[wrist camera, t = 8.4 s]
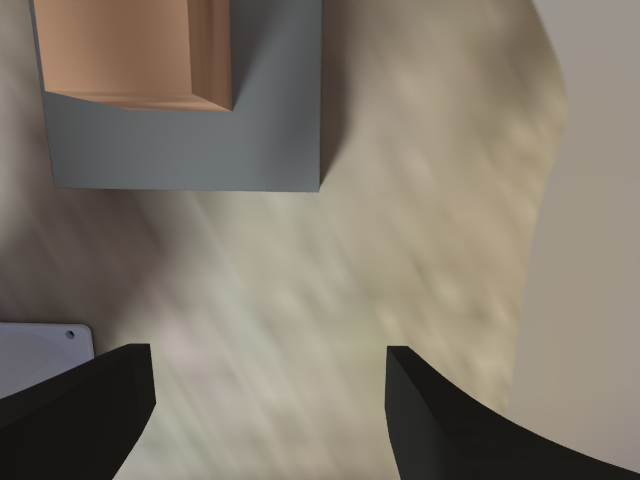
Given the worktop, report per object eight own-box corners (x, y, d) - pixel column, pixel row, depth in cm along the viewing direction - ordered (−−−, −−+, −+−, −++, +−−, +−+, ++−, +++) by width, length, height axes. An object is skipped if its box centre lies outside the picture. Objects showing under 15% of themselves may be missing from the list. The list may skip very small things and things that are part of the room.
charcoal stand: (93, 183, 20) (54, 188, 17) (64, -79, 18) (11, -126, 15) (320, 186, 20) (318, 192, 17) (323, -78, 17) (323, -125, 14)
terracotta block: (128, 109, 17) (44, 90, 12) (118, -7, 16) (23, -81, 11) (232, 111, 16) (191, 93, 12) (229, -5, 15) (183, -79, 11)
